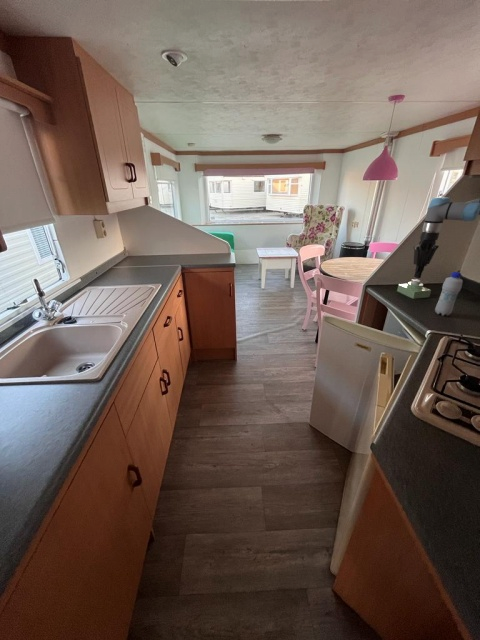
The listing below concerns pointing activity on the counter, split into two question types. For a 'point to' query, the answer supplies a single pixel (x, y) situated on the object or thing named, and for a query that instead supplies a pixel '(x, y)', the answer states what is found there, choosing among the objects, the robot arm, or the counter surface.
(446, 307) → the bottle
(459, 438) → the counter surface
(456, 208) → the robot arm
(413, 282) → the pump
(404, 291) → the dispenser
